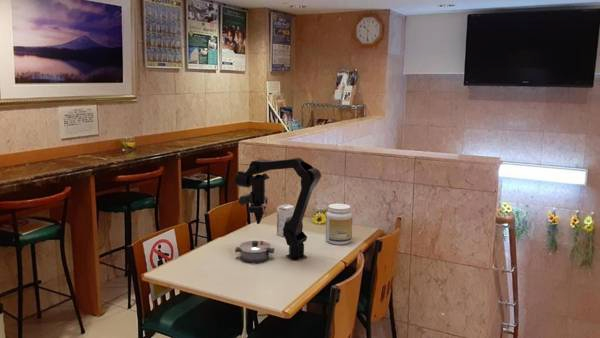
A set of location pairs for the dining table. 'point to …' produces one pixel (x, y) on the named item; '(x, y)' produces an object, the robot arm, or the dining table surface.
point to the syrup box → (283, 217)
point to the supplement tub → (339, 224)
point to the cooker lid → (255, 246)
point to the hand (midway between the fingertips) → (258, 223)
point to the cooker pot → (255, 256)
